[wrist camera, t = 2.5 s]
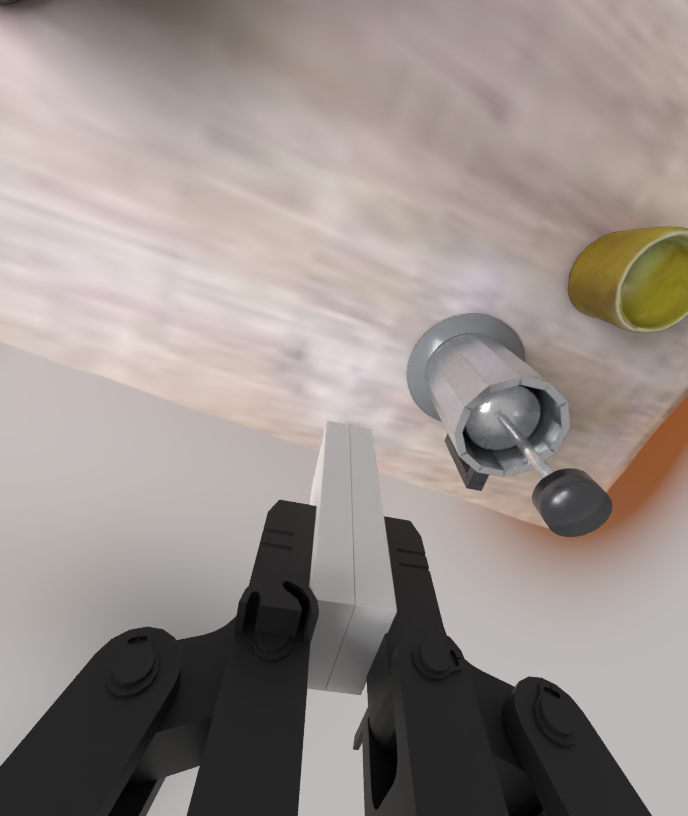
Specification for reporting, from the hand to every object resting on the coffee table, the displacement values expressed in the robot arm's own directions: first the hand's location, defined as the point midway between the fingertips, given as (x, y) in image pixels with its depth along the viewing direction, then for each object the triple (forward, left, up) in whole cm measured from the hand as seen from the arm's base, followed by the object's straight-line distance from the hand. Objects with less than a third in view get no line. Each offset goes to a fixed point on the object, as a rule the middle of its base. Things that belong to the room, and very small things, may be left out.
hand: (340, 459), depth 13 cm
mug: (-8, +30, -33) cm, 45 cm away
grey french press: (+7, +17, -32) cm, 37 cm away
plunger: (+6, +17, -21) cm, 27 cm away
